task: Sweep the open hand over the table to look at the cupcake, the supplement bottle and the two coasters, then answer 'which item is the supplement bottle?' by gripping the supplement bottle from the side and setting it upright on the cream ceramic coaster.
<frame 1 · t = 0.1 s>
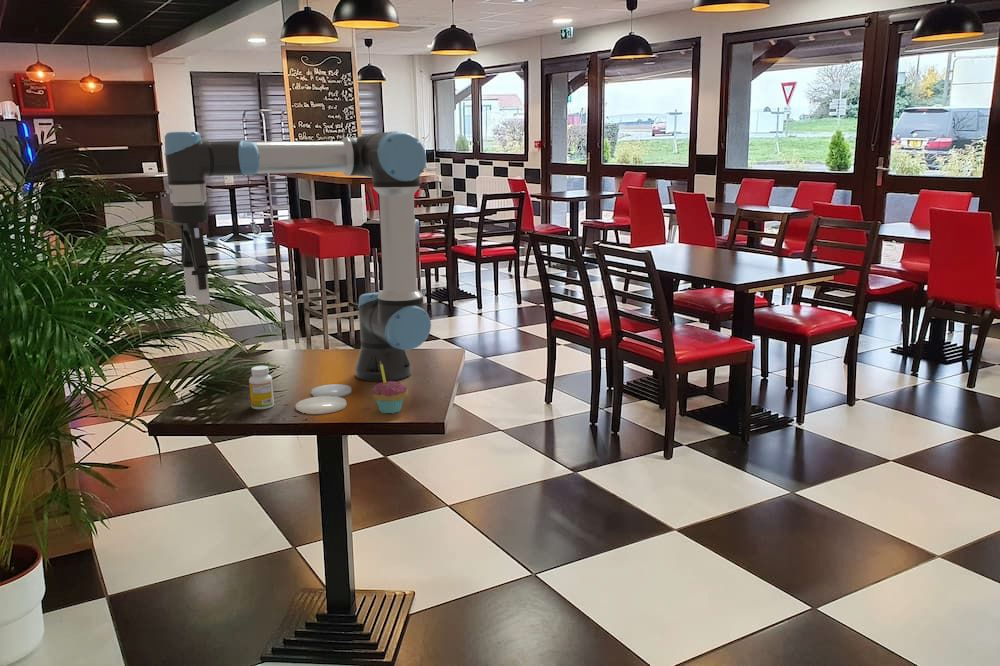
hand: (197, 299, 183), 28 cm above the table, tool pointing down, fingers open, 13 cm apart
grey coaster: (331, 392, 208), on the table
cream coaster: (321, 406, 196), on the table
cupcake: (390, 411, 193), on the table
supplement bottle: (262, 407, 197), on the table
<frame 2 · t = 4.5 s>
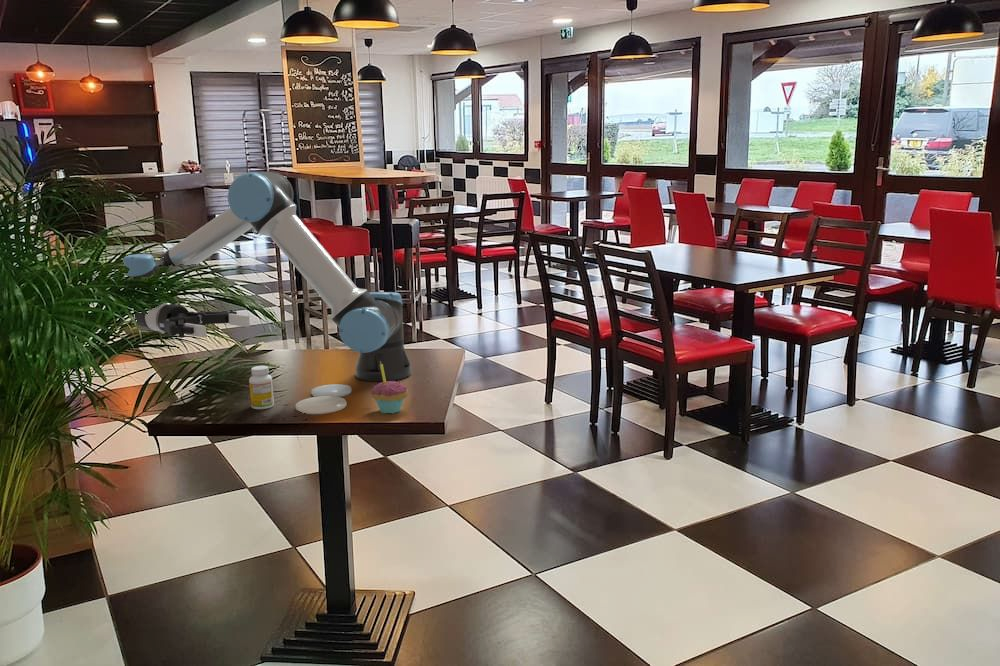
hand: (227, 326, 198), 19 cm above the table, tool horizontal, fingers open, 13 cm apart
nothing on the table moved.
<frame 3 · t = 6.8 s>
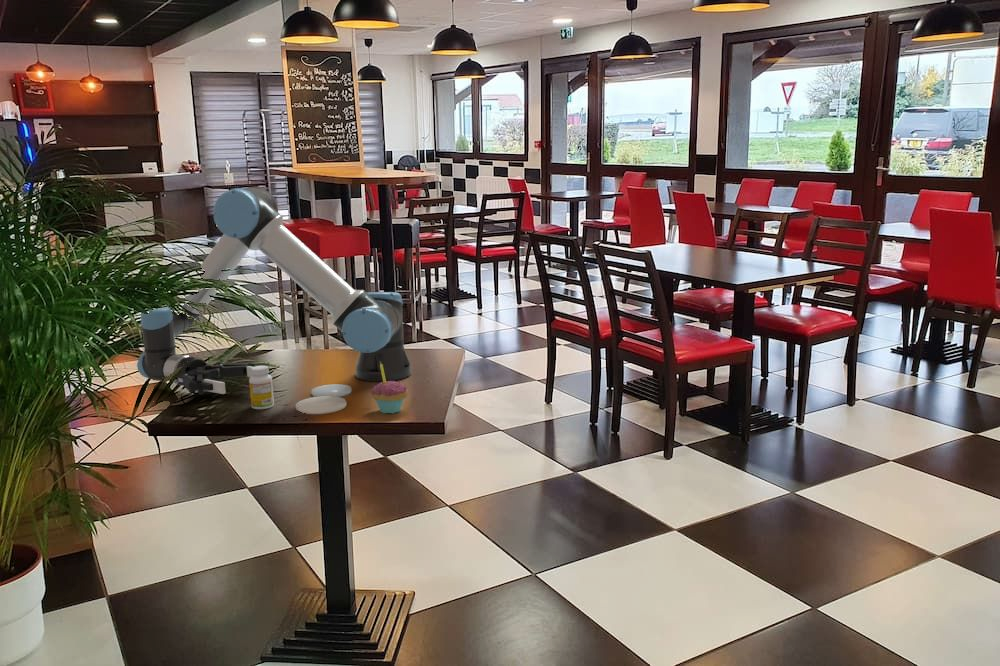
hand: (246, 381, 198), 6 cm above the table, tool horizontal, fingers open, 13 cm apart
nothing on the table moved.
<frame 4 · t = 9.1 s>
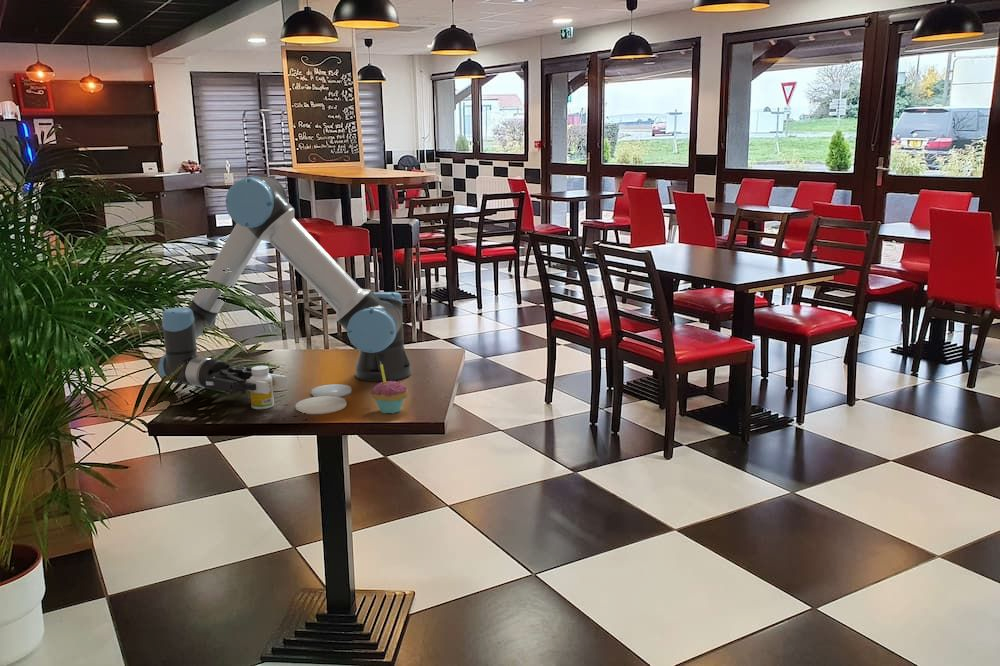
hand: (276, 385, 193), 6 cm above the table, tool horizontal, fingers closed on supplement bottle, 5 cm apart
supplement bottle: (262, 407, 197), on the table, touching gripper
everything else where it was.
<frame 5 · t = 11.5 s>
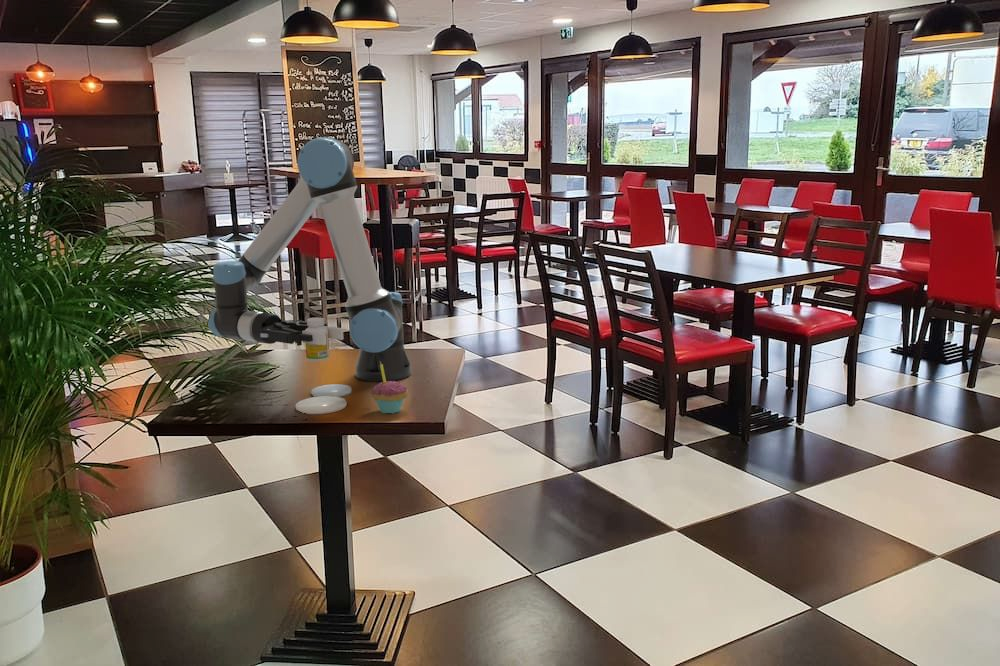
hand: (333, 336, 190), 18 cm above the table, tool horizontal, fingers closed on supplement bottle, 5 cm apart
supplement bottle: (318, 359, 194), point 12 cm above the table, touching gripper
everything else where it was.
when the fingers open (8 cm above the table, at t = 14.1 s): supplement bottle drops 1 cm, resting on cream coaster.
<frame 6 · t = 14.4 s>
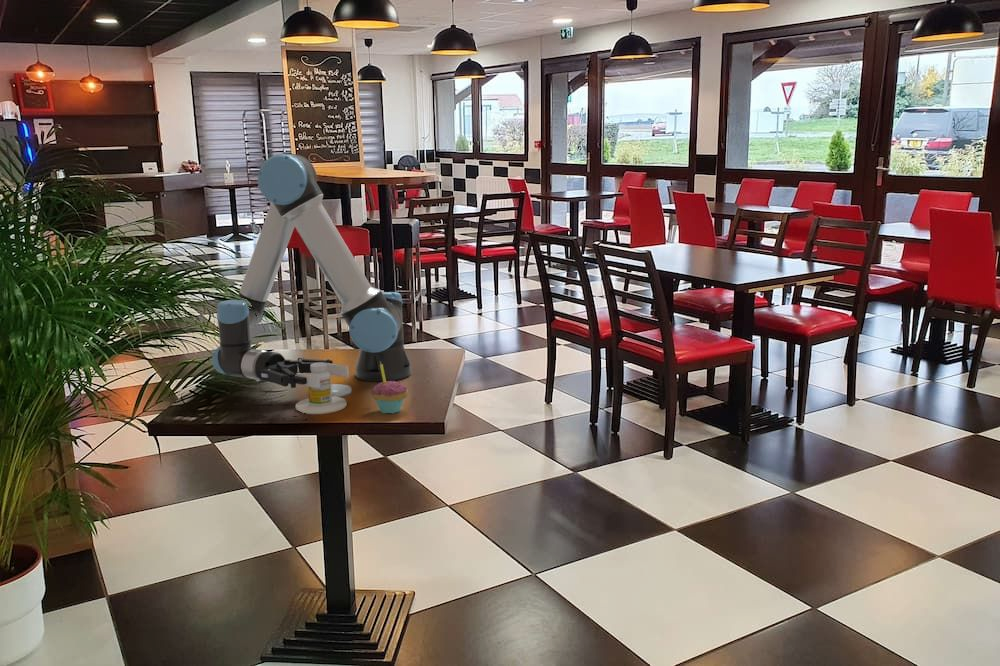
hand: (333, 376, 192), 8 cm above the table, tool horizontal, fingers open, 9 cm apart
supplement bottle: (320, 404, 196), point 1 cm above the table, touching cream coaster
everything else where it was.
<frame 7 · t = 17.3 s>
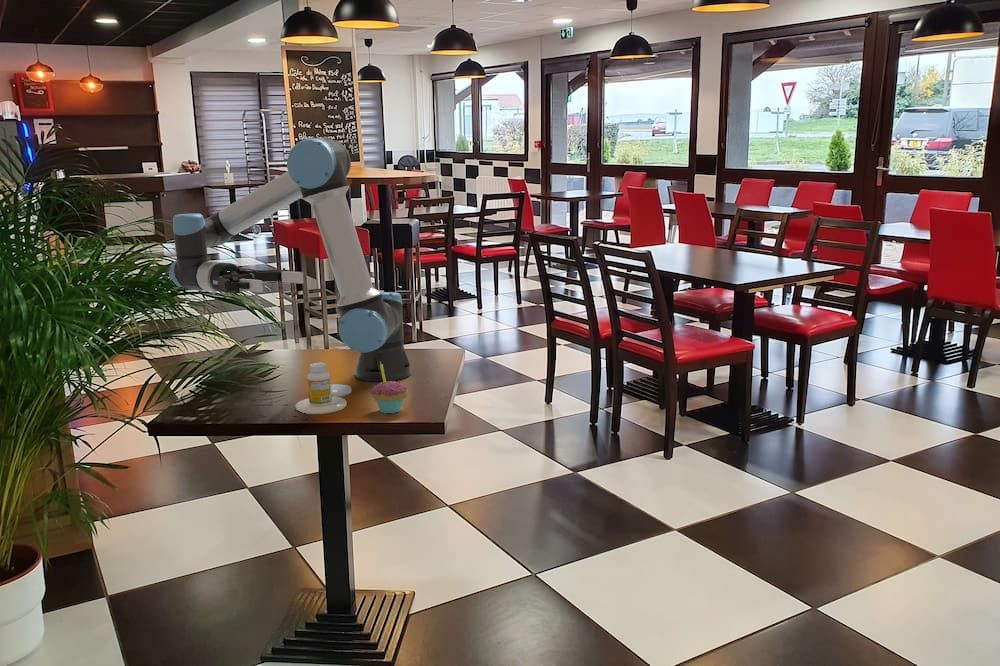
hand: (282, 282, 195), 30 cm above the table, tool horizontal, fingers open, 13 cm apart
nothing on the table moved.
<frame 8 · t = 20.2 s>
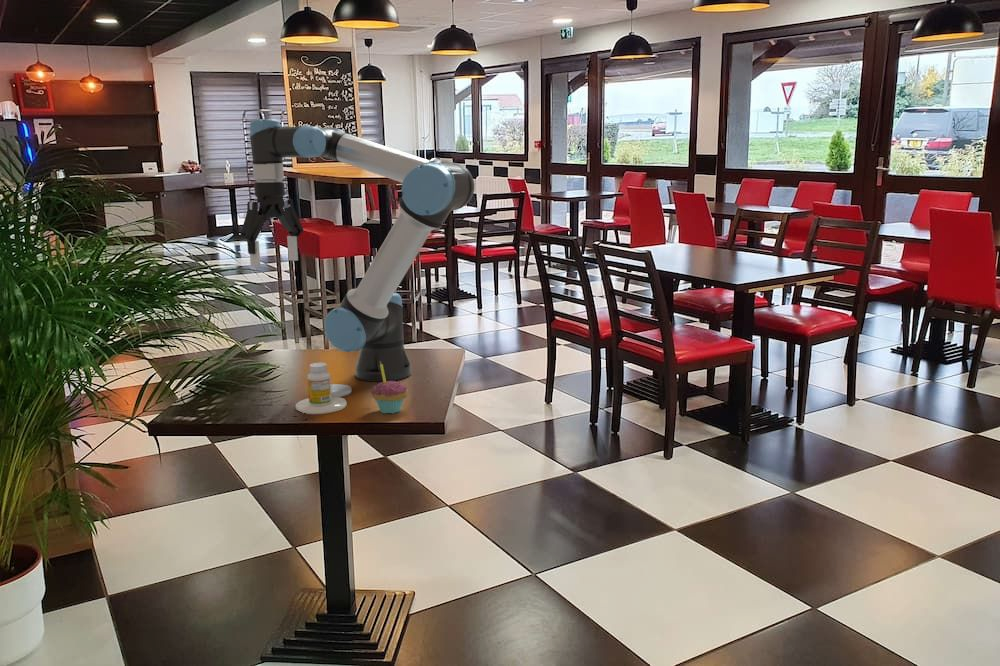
hand: (275, 263, 213), 32 cm above the table, tool pointing down, fingers open, 13 cm apart
nothing on the table moved.
at the end: supplement bottle 0.1 cm from the cream coaster (horizontally); supplement bottle tilted 0°; the gripper is holding nothing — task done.
